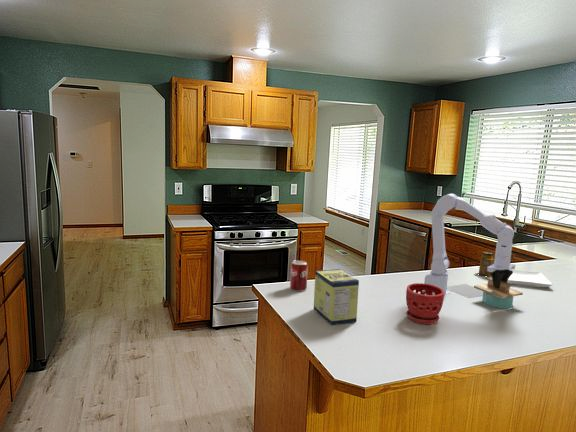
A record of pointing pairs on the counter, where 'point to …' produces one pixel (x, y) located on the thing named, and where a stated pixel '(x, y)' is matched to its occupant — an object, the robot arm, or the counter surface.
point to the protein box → (336, 296)
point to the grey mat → (466, 290)
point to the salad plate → (529, 279)
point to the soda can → (298, 275)
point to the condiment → (485, 264)
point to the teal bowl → (497, 301)
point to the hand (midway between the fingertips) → (499, 287)
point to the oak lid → (498, 289)
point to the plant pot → (424, 302)
